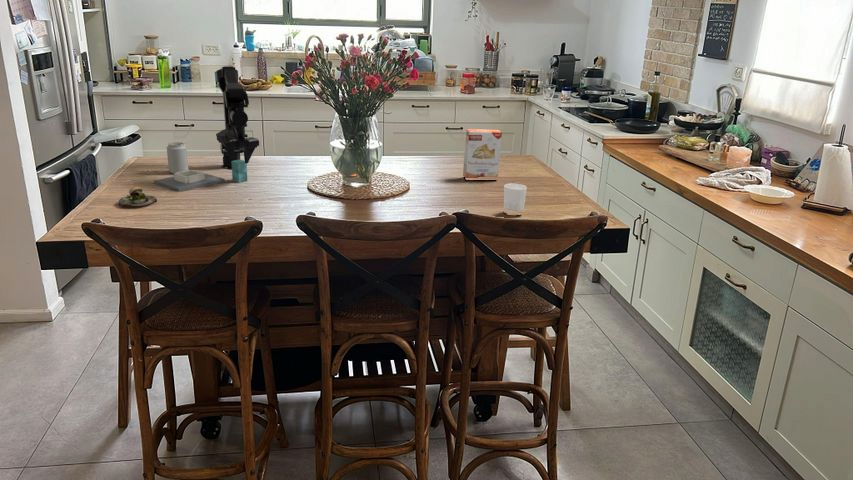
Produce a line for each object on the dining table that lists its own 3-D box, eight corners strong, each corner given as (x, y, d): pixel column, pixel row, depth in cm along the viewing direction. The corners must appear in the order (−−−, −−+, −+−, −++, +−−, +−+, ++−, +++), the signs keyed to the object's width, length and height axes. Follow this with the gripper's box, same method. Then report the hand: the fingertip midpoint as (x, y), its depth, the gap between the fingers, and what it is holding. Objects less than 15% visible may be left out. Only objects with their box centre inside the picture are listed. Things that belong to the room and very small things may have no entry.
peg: (240, 179, 262) (239, 159, 259) (247, 181, 260) (246, 161, 257) (232, 181, 259) (231, 161, 256) (239, 183, 257) (238, 162, 254)
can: (191, 170, 271) (189, 141, 267) (183, 175, 264) (181, 145, 260) (174, 169, 271) (171, 140, 267) (165, 174, 264) (162, 144, 260)
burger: (119, 210, 219) (116, 188, 217) (119, 200, 230) (116, 180, 227) (157, 208, 224) (155, 186, 222) (156, 198, 234) (154, 178, 232)
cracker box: (465, 181, 274) (468, 131, 267) (462, 177, 280) (465, 128, 273) (498, 181, 277) (502, 131, 269) (494, 177, 282) (498, 129, 275)
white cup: (500, 210, 238) (502, 183, 235) (521, 210, 239) (524, 183, 236) (504, 216, 231) (506, 189, 228) (526, 217, 232) (529, 189, 228)
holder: (199, 174, 266) (198, 165, 265) (224, 181, 257) (224, 172, 256) (154, 183, 251) (153, 174, 250) (179, 191, 242) (178, 182, 241)
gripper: (203, 120, 251) (206, 160, 256) (235, 127, 240) (237, 169, 246) (227, 117, 259) (230, 156, 264) (259, 123, 249) (261, 164, 254)
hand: (238, 161), depth 257 cm, fingers open, 9 cm apart
